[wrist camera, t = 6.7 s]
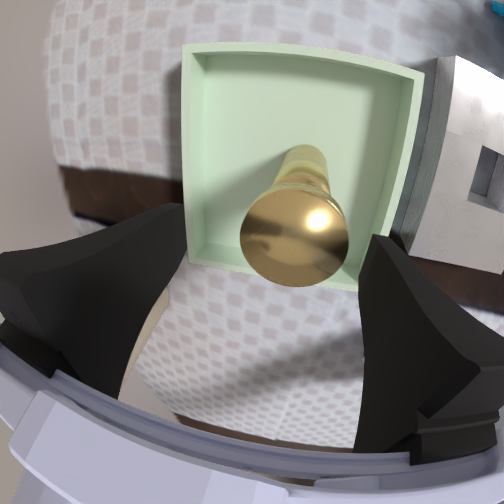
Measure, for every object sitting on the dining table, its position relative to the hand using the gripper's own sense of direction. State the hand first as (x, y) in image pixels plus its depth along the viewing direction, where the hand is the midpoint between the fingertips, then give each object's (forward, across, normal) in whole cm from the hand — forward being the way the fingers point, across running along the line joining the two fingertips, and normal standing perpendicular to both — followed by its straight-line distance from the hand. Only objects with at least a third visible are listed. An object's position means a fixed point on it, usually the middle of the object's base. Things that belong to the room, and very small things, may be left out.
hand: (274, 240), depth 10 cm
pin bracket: (+10, -14, -3) cm, 18 cm away
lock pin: (+10, -1, 0) cm, 10 cm away
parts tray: (+10, 0, 0) cm, 10 cm away
